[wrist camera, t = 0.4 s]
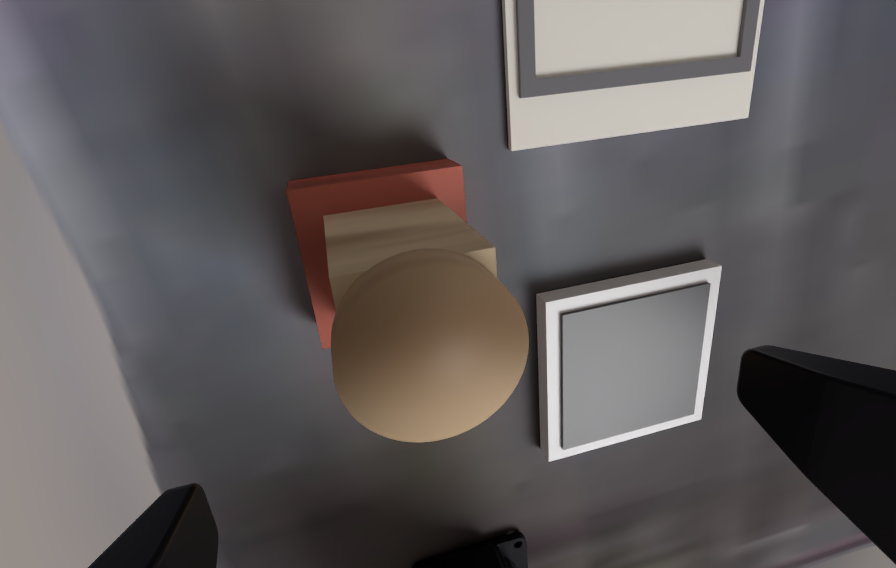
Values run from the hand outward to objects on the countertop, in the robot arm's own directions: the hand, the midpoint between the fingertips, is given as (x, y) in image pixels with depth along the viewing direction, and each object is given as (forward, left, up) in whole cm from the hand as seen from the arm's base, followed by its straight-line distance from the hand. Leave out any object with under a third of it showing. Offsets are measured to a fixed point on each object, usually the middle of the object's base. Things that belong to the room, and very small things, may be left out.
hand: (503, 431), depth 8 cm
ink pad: (-9, -11, -13) cm, 19 cm away
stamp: (-1, 0, -13) cm, 13 cm away
